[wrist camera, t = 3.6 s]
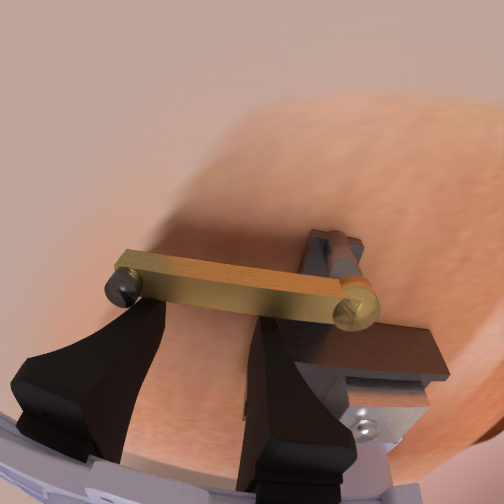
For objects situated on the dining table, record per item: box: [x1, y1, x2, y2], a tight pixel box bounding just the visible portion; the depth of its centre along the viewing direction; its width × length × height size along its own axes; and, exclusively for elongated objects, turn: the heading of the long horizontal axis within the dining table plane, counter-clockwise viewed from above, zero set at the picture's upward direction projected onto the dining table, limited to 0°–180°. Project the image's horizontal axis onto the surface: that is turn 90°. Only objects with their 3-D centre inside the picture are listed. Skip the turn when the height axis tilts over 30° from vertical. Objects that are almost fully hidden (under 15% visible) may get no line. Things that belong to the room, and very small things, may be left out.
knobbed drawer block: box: [322, 375, 430, 444], centre depth 16 cm, size 4×5×3 cm
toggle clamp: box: [242, 229, 450, 421], centre depth 17 cm, size 11×11×4 cm
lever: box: [105, 249, 380, 332], centre depth 11 cm, size 10×2×2 cm, turn 83°
